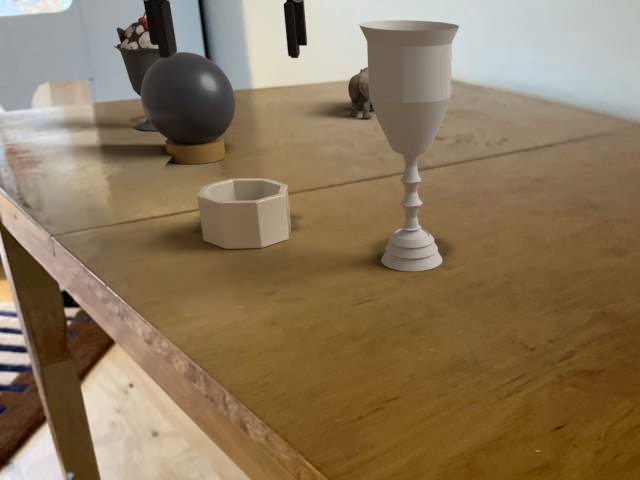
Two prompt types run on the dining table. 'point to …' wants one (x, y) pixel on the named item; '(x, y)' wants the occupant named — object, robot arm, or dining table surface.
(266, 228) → the ring
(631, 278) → the dining table surface
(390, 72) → the chalice
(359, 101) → the rhino figurine
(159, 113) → the ball
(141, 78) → the sundae
